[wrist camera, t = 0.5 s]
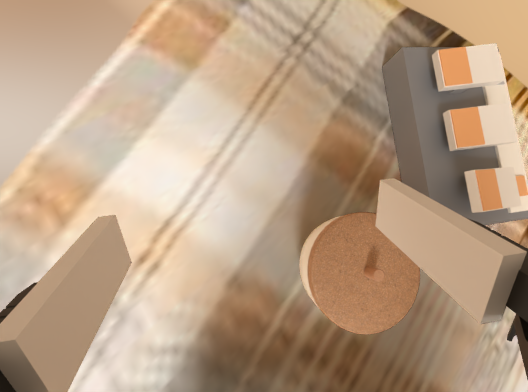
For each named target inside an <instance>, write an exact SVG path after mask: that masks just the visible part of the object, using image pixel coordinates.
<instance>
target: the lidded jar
mask: <svg viewBox="0 0 528 392" xmlns="http://www.w3.org/2000/svg"><path fill="white" fill-rule="evenodd" d="M376 215H377V214H375V213H370V212H357V213H351V214H347V215H344V216H338V217H335V218H333V219H330V220H328V221H326V222H324V223H322V224H321V225H319V226H318V227H317V228H316V229H314V230H313V231H312V233H311V234H310V235H309V236H308V238H307V239H306V241H305V243H304V245H303V247H302V251H301V254H300V261H299V270H300V276H301V279H302V283H303V285H304V288H305V290H306V292H307V294H308V295H309V297H310V298H311V299H312V301H313V302H314V304H315V305H316V306H317V307H318V308H319V309H320V310H321V311H322V312H323V313H324V314H325V315H326V316H327V317H328V318H329V319H330V320H331V321H332V322H333V323H335V324H336V325H338V326H339V327H341V328H343V329H345V330H347V331H349V332H353V333H356V334H375V333H379V332H383V331H385V330H387V329H389V328H391V327H393V326H394V325H395V324H397V323H398V322H399V321H400V320H401V319H403V318H404V317H405V315H406V314H407V313H408V311H409V310H410V308H411V307H412V305H413V303H414V301H415V298H416V295H417V292H418V288H419V281H420V268H419V267H418V266H417V265H416V264H415V263H414V262H413V261H412V260H411V259H410V258H409V257H408V256H407V255H406V254H405V253H403V252H402V251H401V250H400V249H399V248H398V247H397V246H396V245H395V244H394V243H393V242H392V241H391V240H390V239H389V238H387V237H386V236H385V235H384V234H383V233H382V232H381V231H380V230H379V229H378V228H377V227H376V226H375V225H376Z"/></svg>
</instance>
